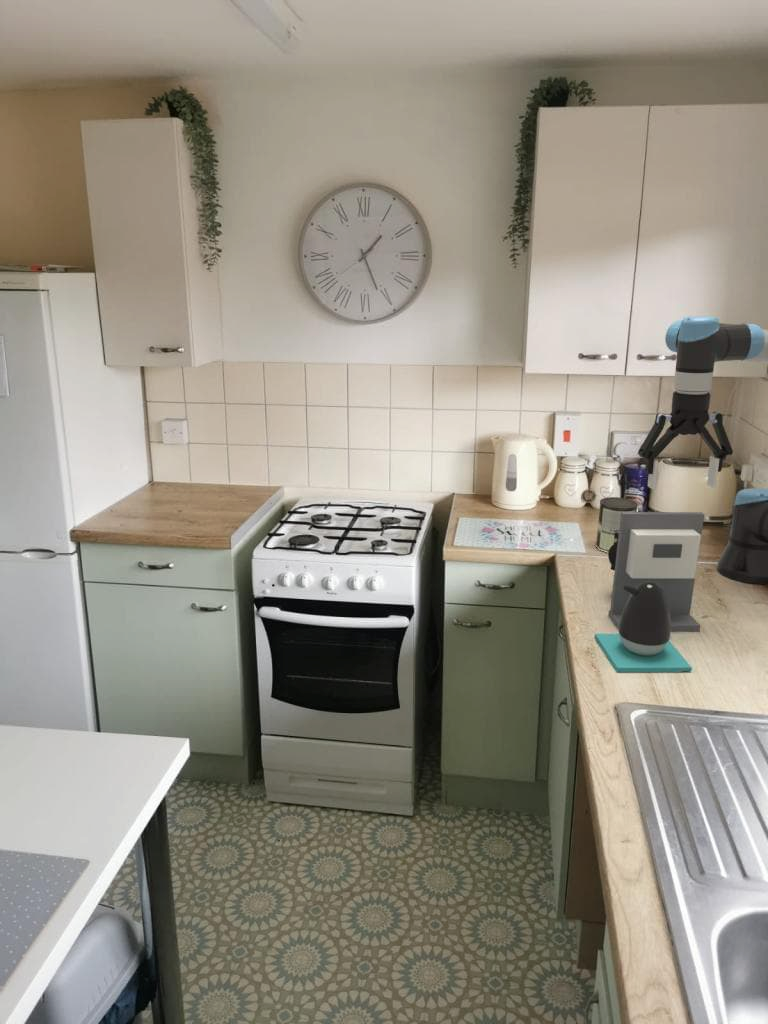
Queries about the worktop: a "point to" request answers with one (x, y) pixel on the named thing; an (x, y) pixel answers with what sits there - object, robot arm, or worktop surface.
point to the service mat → (640, 657)
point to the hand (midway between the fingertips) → (681, 487)
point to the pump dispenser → (645, 619)
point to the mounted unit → (659, 561)
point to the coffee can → (611, 519)
